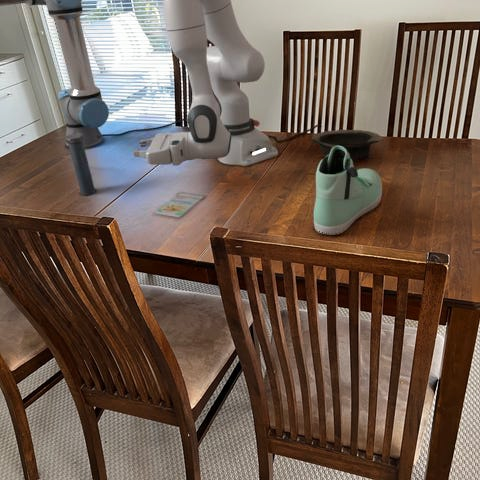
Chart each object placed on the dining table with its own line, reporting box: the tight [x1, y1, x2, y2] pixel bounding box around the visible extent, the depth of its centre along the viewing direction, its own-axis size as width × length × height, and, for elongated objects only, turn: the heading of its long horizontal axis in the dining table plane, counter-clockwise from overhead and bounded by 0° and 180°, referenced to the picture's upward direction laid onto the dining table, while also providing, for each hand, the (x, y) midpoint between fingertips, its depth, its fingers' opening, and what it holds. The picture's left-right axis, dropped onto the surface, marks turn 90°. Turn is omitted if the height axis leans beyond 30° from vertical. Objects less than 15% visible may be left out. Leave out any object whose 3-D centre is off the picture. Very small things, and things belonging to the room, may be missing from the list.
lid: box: [65, 133, 83, 144], centre depth 152 cm, size 5×5×2 cm
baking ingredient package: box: [153, 192, 205, 218], centre depth 148 cm, size 9×1×15 cm
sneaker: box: [313, 146, 383, 236], centre depth 133 cm, size 14×35×20 cm, turn 152°
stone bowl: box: [310, 129, 384, 164], centre depth 171 cm, size 25×25×9 cm
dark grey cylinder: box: [68, 141, 96, 196], centre depth 156 cm, size 4×4×19 cm
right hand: (137, 148), depth 153 cm, fingers open, 8 cm apart
